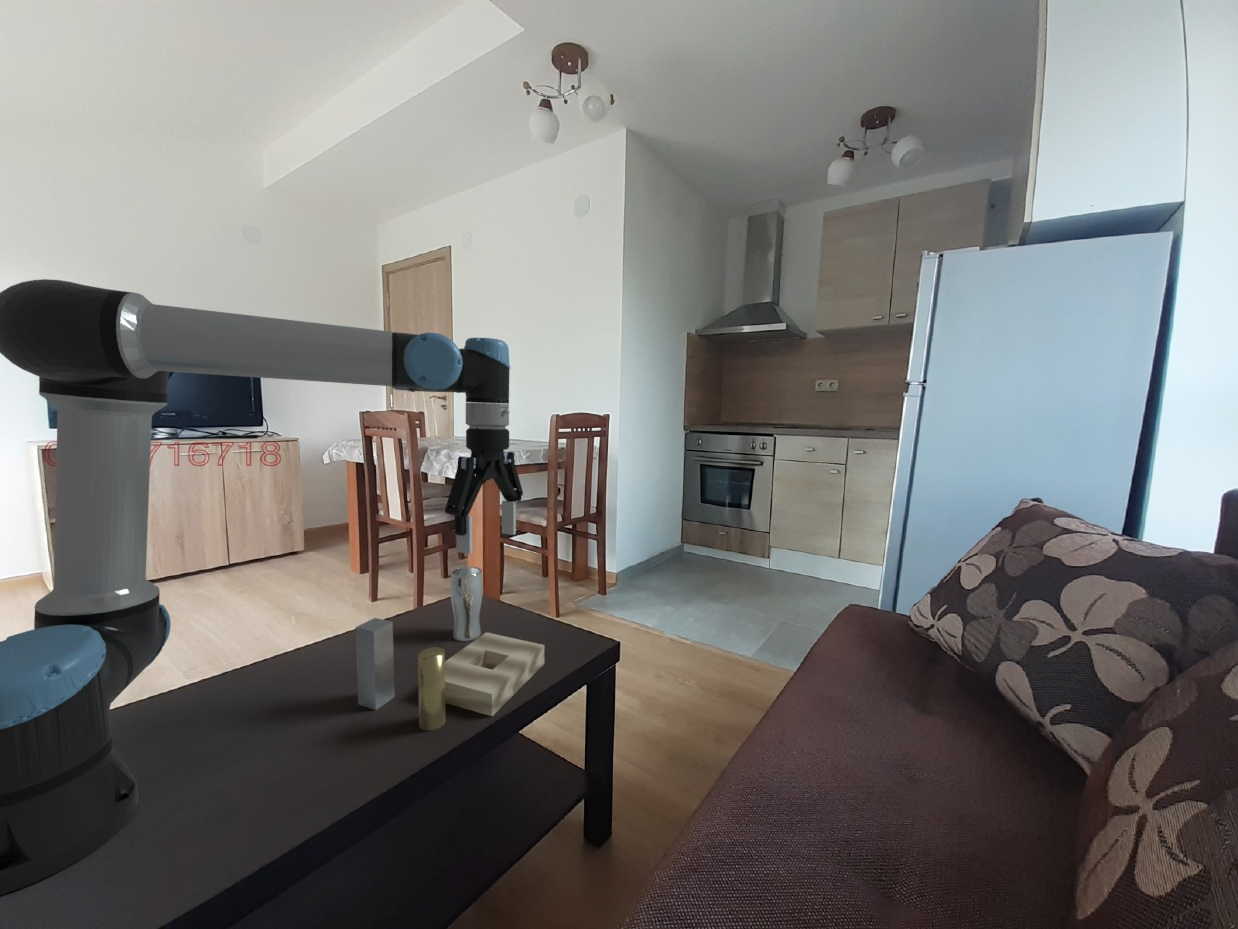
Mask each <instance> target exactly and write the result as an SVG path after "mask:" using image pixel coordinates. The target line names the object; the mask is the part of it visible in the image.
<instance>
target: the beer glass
mask: <svg viewBox="0 0 1238 929" xmlns="http://www.w3.org/2000/svg"><path fill="white" fill-rule="evenodd" d="M449 589H450V590H449V591H450V592H449V593H450V600H451V607H452V611H453V612H452V613H453V617H454V628H453V632H452V633H453V634H452V637H453V639H454V641H455V640H456V641H459V642H470V641H475V640H476V639H478V638H479V637H480V636H482V630H481V624H480V613H481V608H482V602H483V596H484V595H483V594H484V584H483V569H482V568H480V567H477V566H462V567H461V566H460V567H458V568H455V569H453V570H451V573H450V588H449Z"/></svg>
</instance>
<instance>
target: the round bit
mask: <svg viewBox="0 0 1238 929" xmlns="http://www.w3.org/2000/svg"><path fill="white" fill-rule="evenodd" d="M445 654H446V651H445V649H444V648H442V647H437V646H434V647H428V648H425V649H423V650H421V651H420V652H418V654H417V669H418V670H417V671H418V672H417V673H418V674H417V675H418V678H417V680H418V720H419V721H418V723H419V724H418V726H419V729H420V730H421V731H425V732H432V731H436V730H439V729H440V728H442V727H443V726H444V725H445V723H446V703H445V661H446V656H445Z"/></svg>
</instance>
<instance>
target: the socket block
mask: <svg viewBox="0 0 1238 929" xmlns="http://www.w3.org/2000/svg"><path fill="white" fill-rule="evenodd" d="M544 665H545V644H540V643H538V642H532V641H527V640H522V639H519V638H513V637H509V636H504V635H501V634H495V633H492V632H485V633H483V634H481V635H480V636H479V637H478V638H476V639H474V640H472V642H470V643H469V644H468V645H466V646H465V647H464V648H462V649H461V650H459V651H458V652H457V653H455V654H454V655H452V656H451V657H450V658H448V659H446V660H445V704H448V705H452V706H454V707H457V708H462V709H465V710H468V711H473V712H476V713H479V714H483V715H486V716H489V717H493V716H494V715H495V714H497V712H498V711H499V710H501V708H502V707H503V706H504V705H505V704H506V703H507V702H508V701H509V700H510V699H511V698H513V696H514V695H515V694H516V693H517V692H518V691H519V690H520V689H521V688H522V687H524V685H525V684H526V683H527V682H528V681H529V680H530V679H531V678H532V677H533V676H534V675H535V674H536V673H537V672H538V671H539V669H540V668H542V667H543V666H544Z"/></svg>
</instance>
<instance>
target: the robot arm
mask: <svg viewBox="0 0 1238 929" xmlns="http://www.w3.org/2000/svg"><path fill="white" fill-rule="evenodd" d="M509 351H510V350H509V346H508V344H507V343H506V342H505V341H503V340H501V339H497V338H491V337H469V338H467V339H466V340H465V344H464V347H463V348H459V346H457V344H456V343H455V342H454V341H453V340H452V339H450V338H449V337H448V336H445V335H444V334H442V333H438V332H437V333H436V332H424V333H419V334H415V333H406V332H393V331H388V330H380V329H371V328H363V327H362V328H361V327H356V326H355V327H354V326H346V325H337V324H329V323H327V324H326V323H320V322H319V323H318V322H310V321H302V320H296V319H295V320H293V319H285V318H277V317H276V318H275V317H267V316H259V315H249V314H241V313H233V312H225V311H224V312H223V311H215V310H208V309H207V310H206V309H198V308H189V307H180V306H173V305H172V306H171V305H163V304H162V305H161V304H156V303H153V302H151V301H150V300H149V299H147V298H146V297H145V296H144V295H143V294H141V293H138V292H132V291H125V290H123V291H122V290H115V289H110V288H109V289H108V288H104V287H103V288H102V287H97V286H91V285H85V284H81V283H76V282H73V281H66V280H60V279H49V278H48V279H47V278H45V279H32V280H27V281H22V282H21V281H20V282H19V283H16V284H13V285H10V286H9V287H7V288H5V289H4V290H1V291H0V354H1V355H2V356H3V358H6V360H8V361H9V362H10V363H11V364H13V365H15V366H16V367H18V368H20V369H21V370H23V371H25V372H28V373H31V374H32V375H35V376H37V377H39V378H38V382H39V386H38V388H39V389H38V395H40V396H41V397H42V398H44V400H46V401H48V403H50V404H51V405H53V406H54V407H55V409H56V410H57V415H56V417H57V418H56V420H57V421H56V423H57V424H56V459H55V460H56V463H55V464H56V465H55V466H56V467H55V468H56V470H55V503H54V505H55V506H54V507H55V508H54V509H55V511H54V512H55V513H54V514H55V515H54V518H55V519H54V553H53V554H54V559H53V560H54V561H53V562H54V563H53V565H54V566H53V588H52V590H51V591H50V592H49V593H48V594H45V595H44V596H43V597H42V598H40V599H39V600H38V601H37V602H36V603H35V605H34V619H33V620H34V621H33V624H34V625H33V626H34V627H33V629H31V630H27V631H23V632H19V633H17V634H12V635H9V636H7V637H6V638H5V640H2V641H0V896H2V895H5V894H8V893H11V892H13V891H14V892H15V891H18V890H19V889H22V888H25V887H27V886H30V885H33V884H34V883H37V882H40V881H41V880H43V879H46V878H48V877H50V876H53V875H54V874H56V873H58V872H60V871H62V870H64V869H66V868H67V867H69V866H71V865H73V864H74V863H77V862H78V861H80V860H81V859H83V858H84V857H86V856H87V855H89V854H91V853H92V852H93V851H95V850H97V849H98V848H99V847H101V846H102V845H103V844H104V843H106V842H107V841H109V840H110V839H111V838H113V836H114V835H116V834H117V833H118V832H119V831H120V830H121V829H122V828H123V827H124V826H125V825H126V824H127V823H128V822H129V820H130V819H131V818H132V816H133V815H134V814H135V811H136V810H137V808H138V805H139V801H140V800H139V789H138V788H139V786H138V782H137V779H136V777H135V776H134V774H133V773H132V772H131V770H130V769H129V767H128V766H127V764H126V763H125V762H124V761H123V760H122V758H121V757H120V755H119V754H118V752H117V751H116V750H115V748H114V743H113V733H112V720H111V709H110V708H111V704H112V703H113V702H114V701H115V699H117V698H118V697H119V695H120V694H122V692H123V691H125V689H127V687H128V686H129V685H130V684H131V683H132V682H134V681H135V679H136V678H137V677H138V676H140V675H141V673H142V672H143V671H144V670H145V669H146V668H147V667H149V666H150V665H151V664H152V663H153V662H154V661H155V660H156V658H157V657H158V656H159V655H160V653H161V652H162V650H163V647H164V646H165V644H166V643H167V640H168V639H169V636H170V632H171V618H170V614H169V612H168V610H167V608H166V607H165V606H164V605H163V604H161V603H160V595H161V594H160V592H161V591H160V588H159V586H158V585H156V584H154V583H153V582H151V581H149V580H147V554H148V527H149V523H148V522H149V503H150V502H149V501H150V500H149V499H150V498H149V497H150V477H151V476H150V474H151V473H150V470H151V448H152V447H151V444H152V421H153V419H152V418H153V416H154V415H155V414H156V413H157V412H158V411H159V410H162V409H163V408H165V407H166V406H168V397H169V396H168V394H169V381H170V380H171V379H172V378H173V377H174V376H175V375H176V374H177V373H185V374H187V373H188V374H201V375H215V376H217V375H218V376H219V375H220V376H232V377H245V378H246V377H247V378H248V377H249V378H262V379H263V378H264V379H276V380H277V379H279V380H289V381H292V380H294V381H304V382H305V381H306V382H307V381H308V382H321V383H322V382H323V383H335V384H338V383H339V384H351V385H352V384H353V385H365V386H366V385H368V386H379V387H380V386H383V387H391V388H392V389H393V390H397V391H405V392H406V391H407V392H412V393H415V392H428V393H429V392H431V393H456V394H460V393H463V394H465V424H466V426H468V428H466V430H465V447H466V449H468V450H470V451H471V453H470V456H459V457H458V458H457V468H456V473H455V475H454V479H453V482H452V486H451V489H450V492H449V496H448V497H447V498H448V499H447V502H446V505H445V509H444V512H445V514H448V515H450V516H453V517H454V533H455V536H456V537H455V538H456V545H455V546H456V548H455V549H456V553H460V554H461V553H462V554H466V555H471V554H473V515H470V512H471V510H472V508H473V506H474V504H475V501H476V499H477V497H478V496H479V492H480V491H481V488H482V486H483V485H484V484H486V482H487V481H490V480H493V481H494V483H495V484H496V487H497V488H498V490H499V492H500V493H501V495H502V496H503V498H504V500H502V501H501V534H503V535H509V536H514V535H516V532H517V531H516V530H517V529H516V528H517V526H516V525H517V524H516V523H517V521H516V520H517V519H516V518H517V517H516V516H517V502H521V501H522V497H523V495H524V491H523V488H522V484H521V481H520V477H519V473H518V470H517V466H516V463H515V461H516V460H515V452H514V451H507V450H508V449H509V448H510V431H509V429H507V428H506V427H508V426H509V425H510V370H511V365H510V364H511V363H510V352H509Z"/></svg>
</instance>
